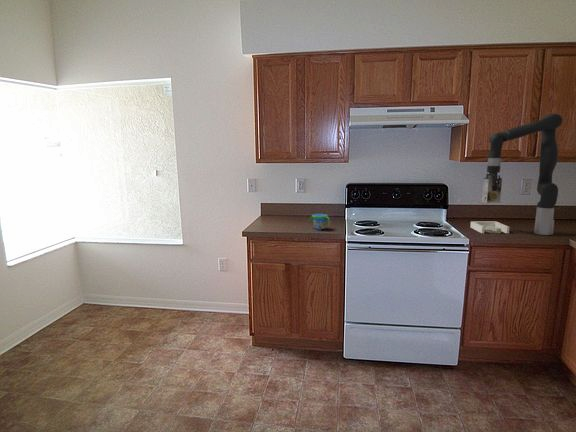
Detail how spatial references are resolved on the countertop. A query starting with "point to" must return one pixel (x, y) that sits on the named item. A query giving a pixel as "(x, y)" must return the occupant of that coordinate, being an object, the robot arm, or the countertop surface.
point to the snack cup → (319, 221)
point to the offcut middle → (491, 231)
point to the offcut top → (493, 228)
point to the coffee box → (491, 191)
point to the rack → (481, 225)
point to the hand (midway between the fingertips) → (491, 190)
